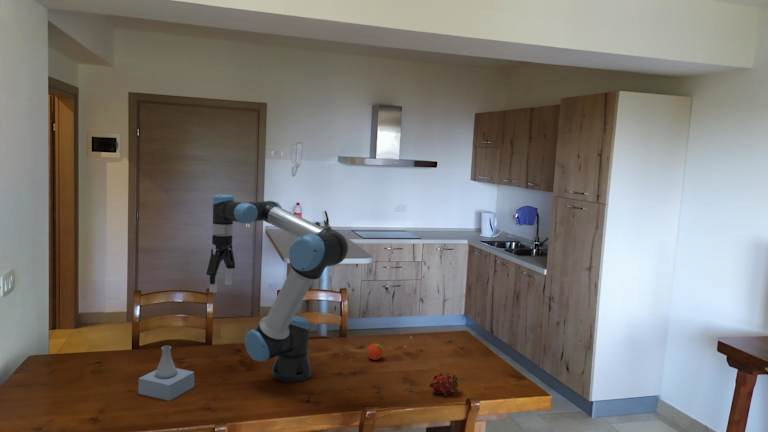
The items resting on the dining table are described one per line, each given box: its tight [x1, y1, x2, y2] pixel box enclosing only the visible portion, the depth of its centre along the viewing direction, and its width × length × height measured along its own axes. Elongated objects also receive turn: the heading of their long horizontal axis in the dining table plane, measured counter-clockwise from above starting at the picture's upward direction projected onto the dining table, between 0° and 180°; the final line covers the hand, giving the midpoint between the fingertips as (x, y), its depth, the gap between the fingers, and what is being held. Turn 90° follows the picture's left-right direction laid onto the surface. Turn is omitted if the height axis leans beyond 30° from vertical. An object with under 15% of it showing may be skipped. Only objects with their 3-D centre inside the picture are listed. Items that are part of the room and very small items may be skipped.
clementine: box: [366, 343, 385, 361], centre depth 236 cm, size 8×7×7 cm
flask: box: [154, 345, 178, 378], centre depth 194 cm, size 7×7×10 cm
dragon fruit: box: [429, 371, 459, 396], centre depth 205 cm, size 8×8×12 cm
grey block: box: [137, 367, 195, 402], centre depth 194 cm, size 13×13×6 cm
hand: (220, 288), depth 215 cm, fingers open, 13 cm apart
